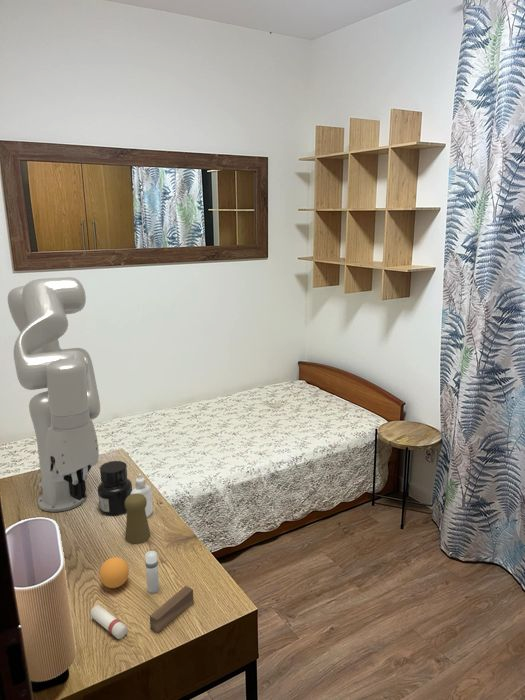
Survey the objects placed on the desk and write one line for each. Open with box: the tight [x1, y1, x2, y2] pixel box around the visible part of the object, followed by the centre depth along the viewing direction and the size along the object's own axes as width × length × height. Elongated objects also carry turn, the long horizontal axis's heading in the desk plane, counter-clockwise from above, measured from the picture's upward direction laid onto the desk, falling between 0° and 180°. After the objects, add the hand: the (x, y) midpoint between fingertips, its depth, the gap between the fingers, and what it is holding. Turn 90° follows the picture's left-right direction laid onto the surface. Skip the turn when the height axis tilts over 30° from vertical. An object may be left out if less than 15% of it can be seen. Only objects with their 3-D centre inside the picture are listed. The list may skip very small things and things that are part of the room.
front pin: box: [89, 604, 128, 640], centre depth 100 cm, size 2×2×8 cm
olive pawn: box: [124, 493, 151, 545], centre depth 126 cm, size 6×6×11 cm
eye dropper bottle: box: [130, 473, 154, 518], centre depth 135 cm, size 4×6×12 cm
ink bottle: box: [97, 460, 133, 516], centre depth 139 cm, size 10×9×12 cm
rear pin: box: [144, 550, 160, 594], centre depth 109 cm, size 2×2×8 cm
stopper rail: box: [149, 585, 195, 634], centre depth 103 cm, size 2×10×3 cm, turn 145°
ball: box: [99, 556, 130, 589], centre depth 111 cm, size 6×6×6 cm
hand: (78, 496), depth 113 cm, fingers closed
